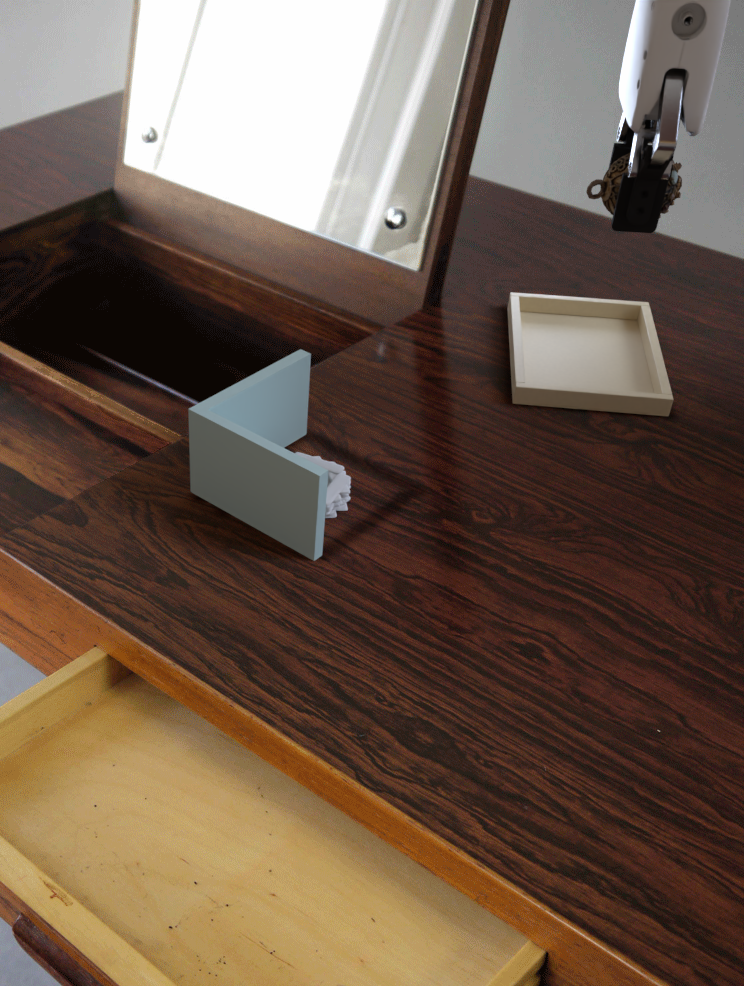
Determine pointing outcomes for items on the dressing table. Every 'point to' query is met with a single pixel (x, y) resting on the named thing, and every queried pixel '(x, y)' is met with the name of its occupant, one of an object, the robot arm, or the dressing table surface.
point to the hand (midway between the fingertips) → (628, 211)
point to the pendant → (613, 181)
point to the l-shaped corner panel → (266, 457)
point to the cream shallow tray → (586, 354)
